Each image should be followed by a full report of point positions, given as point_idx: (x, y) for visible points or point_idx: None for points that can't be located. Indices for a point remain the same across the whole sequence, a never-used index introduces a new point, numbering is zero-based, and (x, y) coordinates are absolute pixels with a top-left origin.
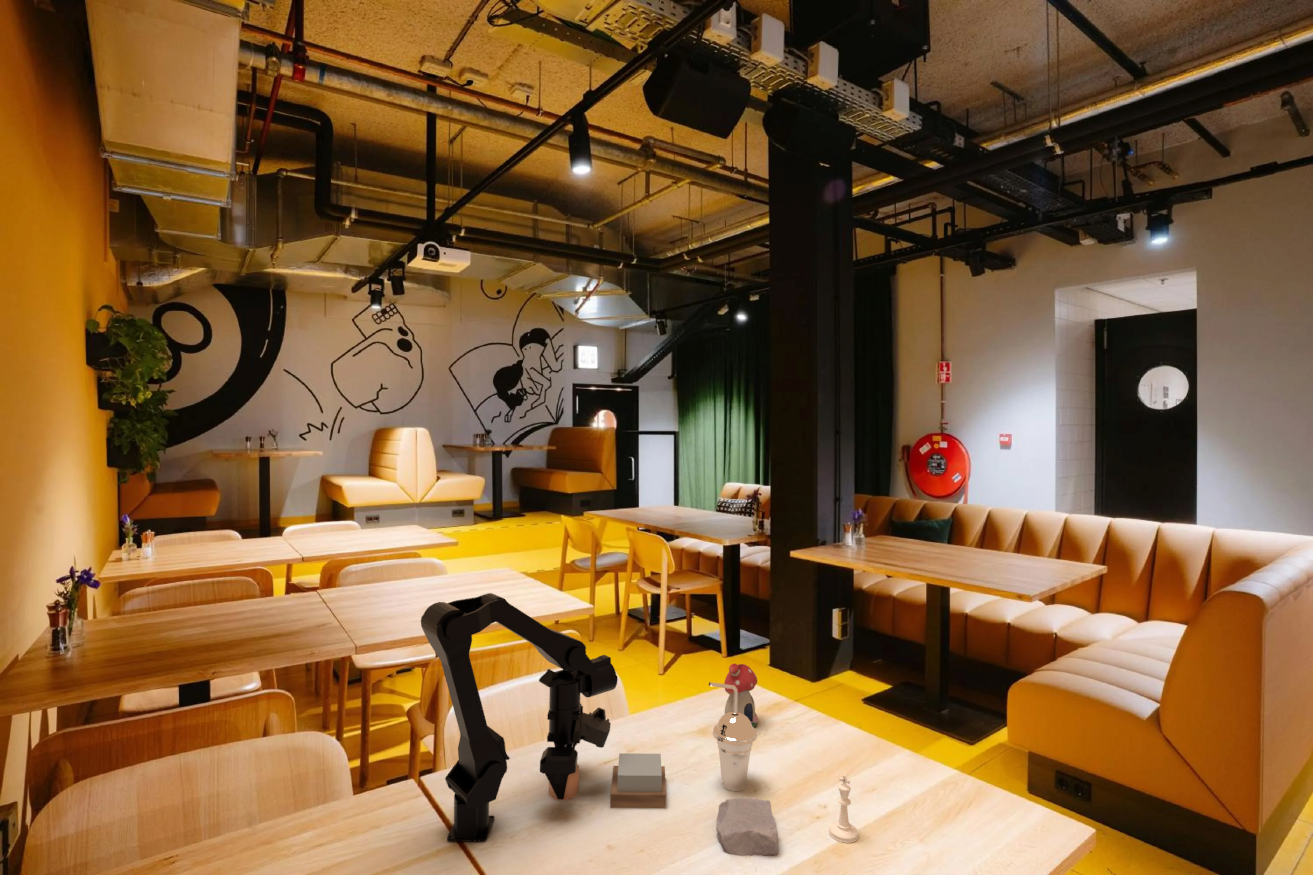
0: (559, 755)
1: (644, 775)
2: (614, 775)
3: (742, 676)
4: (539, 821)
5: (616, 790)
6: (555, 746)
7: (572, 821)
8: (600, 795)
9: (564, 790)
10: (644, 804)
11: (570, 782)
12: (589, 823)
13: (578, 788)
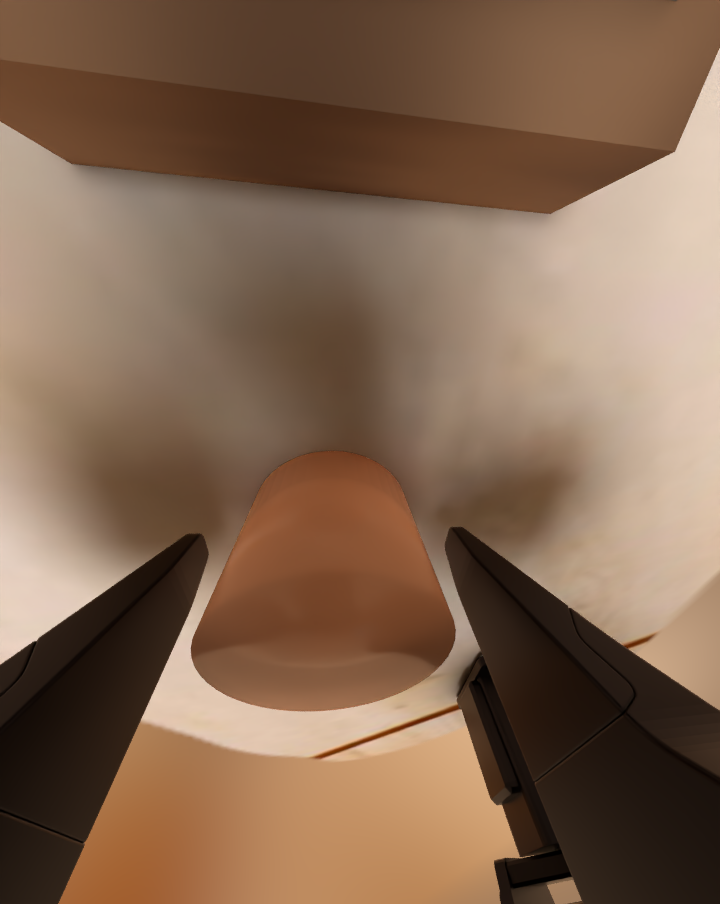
0: None
1: None
2: (205, 42)
3: None
4: (533, 562)
5: (636, 21)
6: (75, 860)
7: (589, 454)
8: (379, 305)
9: (511, 567)
10: None
11: (426, 552)
12: (649, 368)
13: (346, 464)
